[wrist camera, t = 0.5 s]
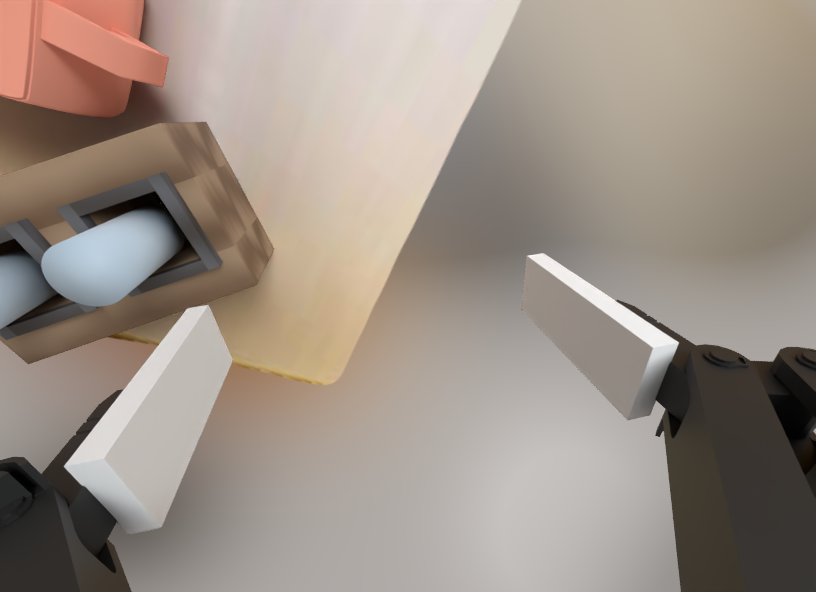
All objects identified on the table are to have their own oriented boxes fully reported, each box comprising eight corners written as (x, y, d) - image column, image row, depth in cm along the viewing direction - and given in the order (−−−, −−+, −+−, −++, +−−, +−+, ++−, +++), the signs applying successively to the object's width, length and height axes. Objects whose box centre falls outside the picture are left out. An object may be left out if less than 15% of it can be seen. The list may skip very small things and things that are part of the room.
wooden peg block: (-11, 194, 32) (-157, 226, 23) (206, 122, 33) (152, 123, 23) (96, 309, 39) (19, 371, 30) (274, 248, 40) (254, 289, 30)
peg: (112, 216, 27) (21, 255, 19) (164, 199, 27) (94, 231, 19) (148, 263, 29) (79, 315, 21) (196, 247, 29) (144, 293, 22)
